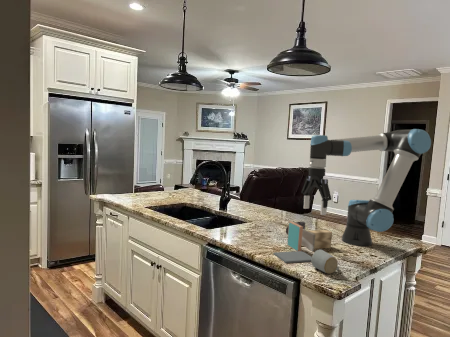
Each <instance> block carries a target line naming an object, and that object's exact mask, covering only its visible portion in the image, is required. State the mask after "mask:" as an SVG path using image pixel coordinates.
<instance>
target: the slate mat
mask: <svg viewBox="0 0 450 337" xmlns="http://www.w3.org/2000/svg"><path fill="white" fill-rule="evenodd" d="M272 253H273V255H274V256H275V257H276V256H277V257H276V258H278V259H279V260H280V259H281V260H280V261H281V262H283V261H284V262H283V263H284V264H293V263H297V264H298V263H307V262H309V263H310V262H311V259H312V255H309V254H308V253H306V252H304V251H303V250H301V251H296V250H294V251H279V252H276V251H275V252H272Z"/></svg>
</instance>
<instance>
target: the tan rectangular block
mask: <svg viewBox="0 0 450 337" xmlns="http://www.w3.org/2000/svg"><path fill="white" fill-rule="evenodd" d="M332 239H333V231H330V230H329V229H328V230H327V229H319V230H318V229H317V230H307V229H306V228H305V229H303V232H302V244H301V247H305V248H306V249H308V250H310V251H311V252H315V249H316V250H319V249H331V248H332Z"/></svg>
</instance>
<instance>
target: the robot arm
mask: <svg viewBox="0 0 450 337" xmlns="http://www.w3.org/2000/svg"><path fill="white" fill-rule="evenodd" d="M310 139H311V140H310V143H309V144H310V150H309V151H310V153H309V169H308V175H307V176H305V182H304V185H303V187H302V189H301V194H303V209H305V210H306V209H310V199H311V198H310V197H311V196H310V194H311V193H312V190H313V189H314V188H316V189H318V192H319V194H320V197H321V201H320V202H321V204H320V215H321V216H323V215H324V216H325V215H326V216H327V210H328V205H329V204H328V202H329V201H332V194H331V191H330V187H329V180H328V179H327V178H324V177H325V176H326V169H325V168H326V167H327V156H333V157H348V156H349V155H351V153H357V152H359V153H360V152H368V151H380V152H393V153H394V157H393V159H392V161H391V163H390V165H389V167H388V170H387V171H386V173H385V176H384V177H383V179H382V181H381V183H380V184H379V187H378V189H377V191H376V193H375V196H374V197H373V198H370V199H369V200H365V199H350V200H349V202H348V204H347V218H346V227H345V229H344V231H343V233H342V235H341V240H342V241H343V242H344V243H347V244H350V245H354V246H361V247H368V246H372V244H373V239H372V235H371V231H375V232H379V233H382V232H386V231H388V230H389V229H390V228H391V227H392V226H393V224H394V220H395V219H394V214H393V212H394V210H395V208H394V207H393V204H394V202H395V200H396V198H397V196H398V193H399V191H400V189H401V187H403V183H404V182H405V180H406V177H407V175H408V173H409V171H410V170H411V167H412V165H413V163H414V162H415V161H418V160H419V158H420V156H421V155H422V154H425V153H427V152H428V151H429V150H430V148H431V147H432V146H431V145H432V139H431V137H430V134H429V133H428V132H427V131H425V130H424V129H419V128H413V129H397V130H393V131H387V132H381V133H378V134H377V135H368V136H359V137H358V136H356V137H348V138H347V137H345V138H336V139H328V135H322V134H321V135H320V134H314V135H312V136H311V138H310ZM370 230H371V231H370Z"/></svg>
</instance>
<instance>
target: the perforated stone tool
mask: <svg viewBox="0 0 450 337" xmlns="http://www.w3.org/2000/svg"><path fill="white" fill-rule="evenodd" d="M294 223H296V224H298V225H300V226H302V227H303V229H305V230H306V222H305V221H296V222H294ZM288 229H289V224H288V225H287V226H286V228H285V233H286V235H288Z"/></svg>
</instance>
